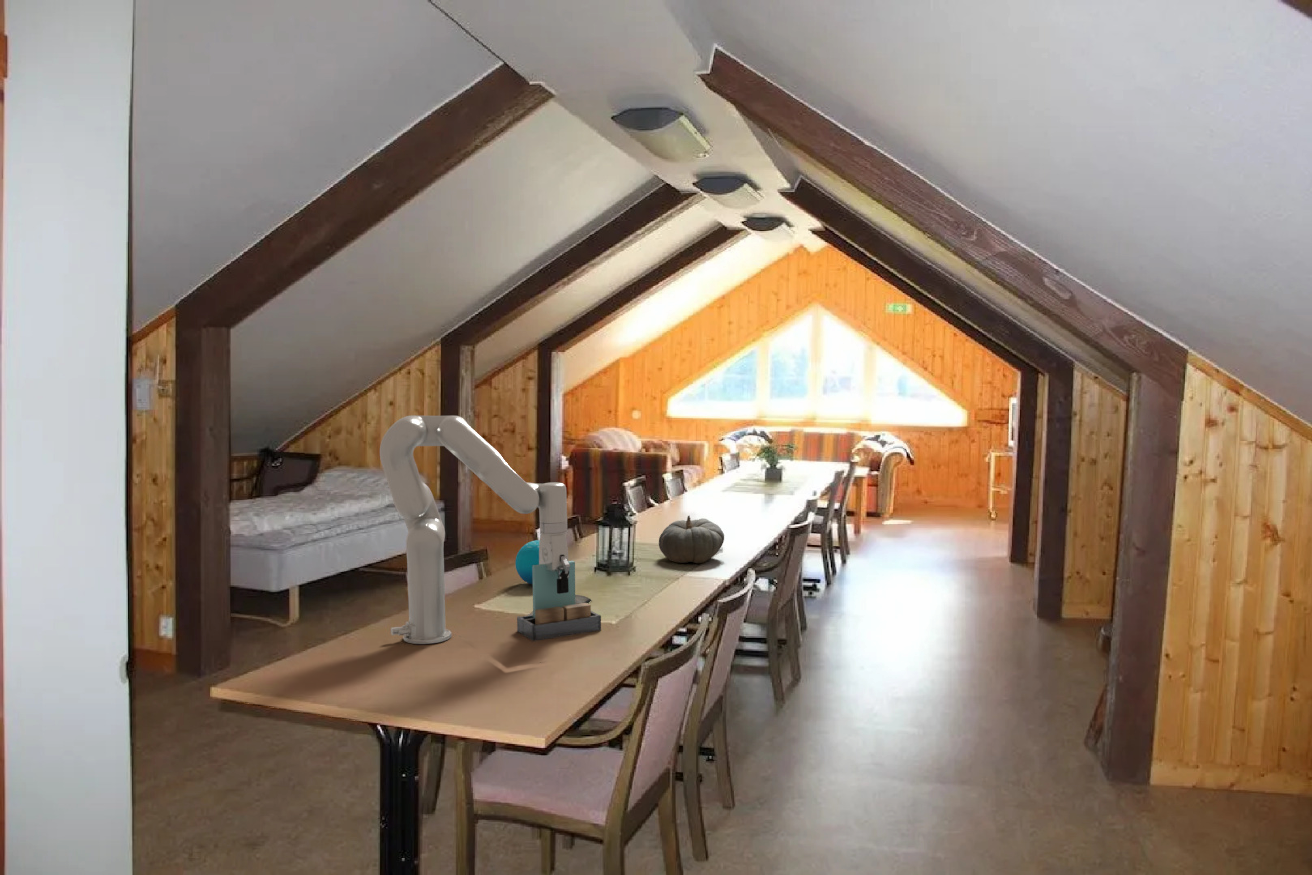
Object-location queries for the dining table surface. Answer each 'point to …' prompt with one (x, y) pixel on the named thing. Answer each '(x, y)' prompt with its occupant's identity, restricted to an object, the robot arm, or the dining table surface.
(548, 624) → the metal rack
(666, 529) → the gourd
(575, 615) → the right offcut block
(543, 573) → the teal board
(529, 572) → the decorative orb
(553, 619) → the left offcut block
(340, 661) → the dining table surface
